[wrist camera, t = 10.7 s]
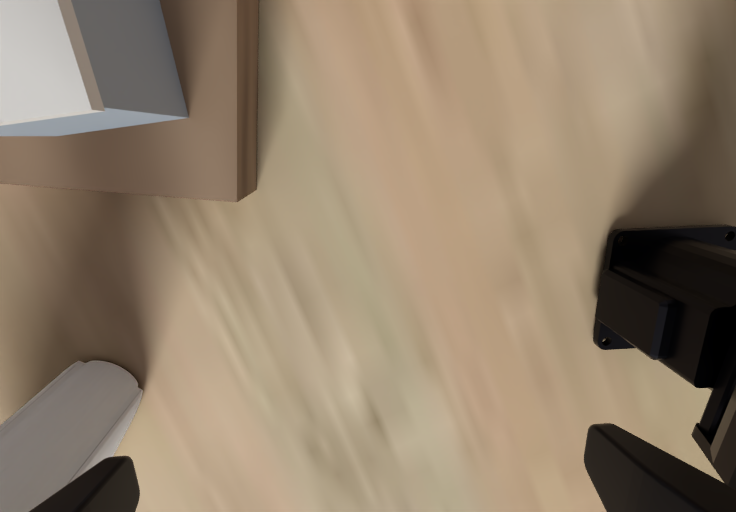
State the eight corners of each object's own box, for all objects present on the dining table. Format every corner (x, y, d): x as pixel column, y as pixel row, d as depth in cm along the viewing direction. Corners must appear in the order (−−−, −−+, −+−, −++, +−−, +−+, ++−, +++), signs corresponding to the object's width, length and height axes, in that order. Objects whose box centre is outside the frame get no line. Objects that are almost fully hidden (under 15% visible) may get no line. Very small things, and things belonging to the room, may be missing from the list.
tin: (153, -37, 13) (1, -177, 7) (192, 120, 14) (91, 109, 9) (1, -18, 13) (-278, -143, 7) (55, 139, 14) (-140, 141, 8)
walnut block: (261, -33, 16) (236, -84, 13) (258, 188, 19) (236, 202, 15) (26, -63, 16) (-76, -127, 12) (55, 172, 18) (-21, 181, 14)
